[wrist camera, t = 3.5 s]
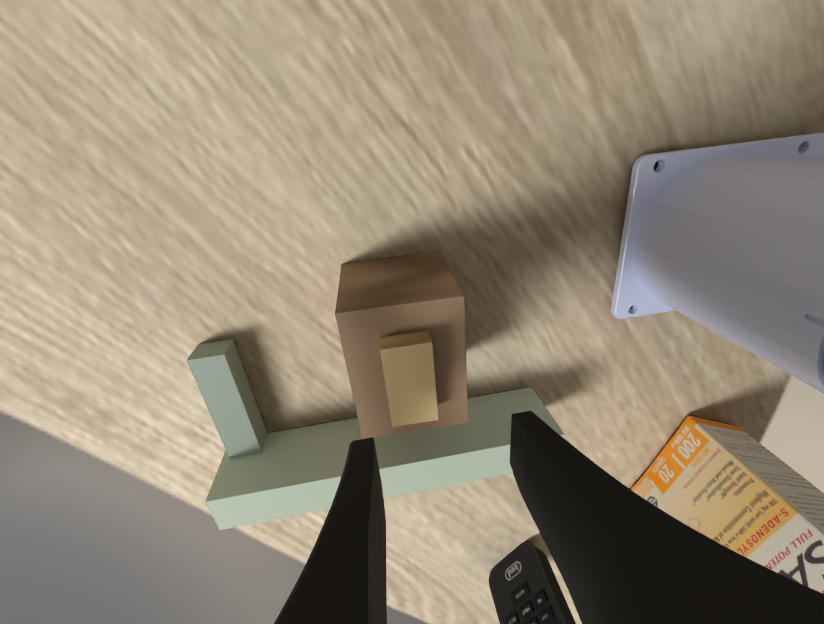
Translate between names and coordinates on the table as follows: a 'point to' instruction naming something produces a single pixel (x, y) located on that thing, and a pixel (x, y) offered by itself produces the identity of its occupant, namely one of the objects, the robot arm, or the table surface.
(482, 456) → the green l-shaped block
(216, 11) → the table surface
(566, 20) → the table surface
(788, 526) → the supplement box
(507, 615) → the remote control
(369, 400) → the brown block
